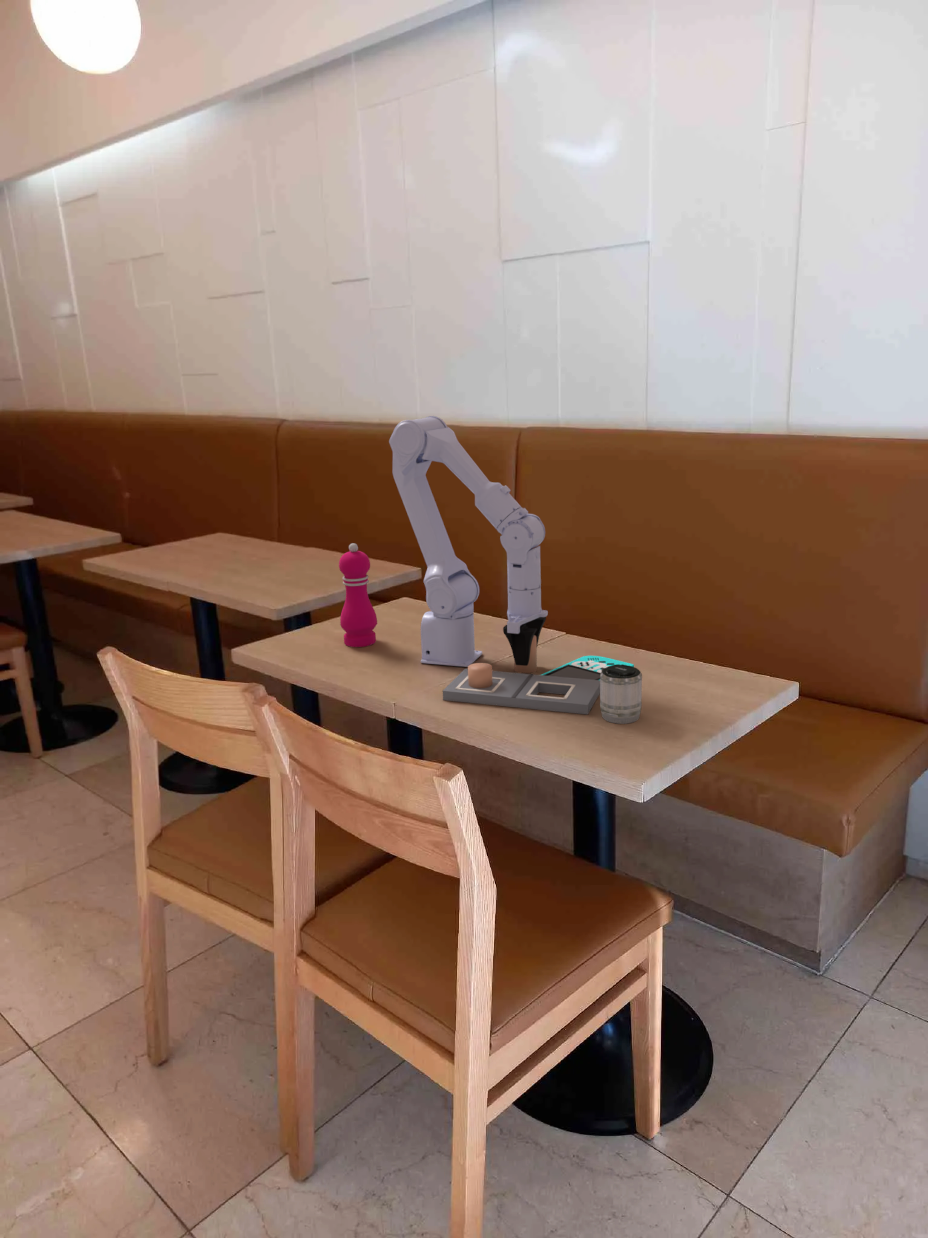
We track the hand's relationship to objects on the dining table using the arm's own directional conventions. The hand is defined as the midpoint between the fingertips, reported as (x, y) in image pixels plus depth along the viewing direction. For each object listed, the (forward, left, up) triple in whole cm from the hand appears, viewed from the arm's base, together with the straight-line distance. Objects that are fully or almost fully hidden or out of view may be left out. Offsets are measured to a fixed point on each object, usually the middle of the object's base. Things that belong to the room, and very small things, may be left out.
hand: (525, 660), depth 160 cm
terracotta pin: (0, 0, -2) cm, 2 cm away
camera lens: (+20, -17, -2) cm, 26 cm away
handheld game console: (+11, 0, -2) cm, 11 cm away
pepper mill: (-36, +7, -2) cm, 37 cm away
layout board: (+3, -12, -2) cm, 12 cm away
